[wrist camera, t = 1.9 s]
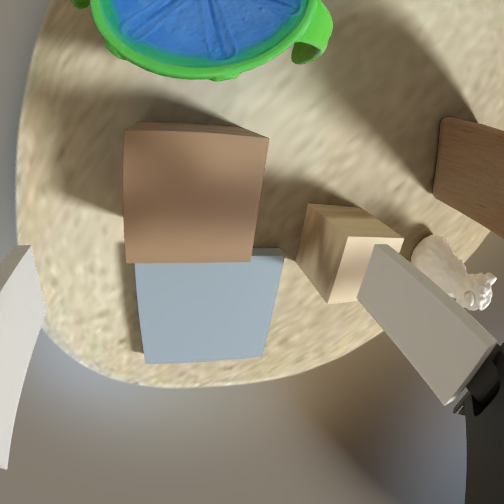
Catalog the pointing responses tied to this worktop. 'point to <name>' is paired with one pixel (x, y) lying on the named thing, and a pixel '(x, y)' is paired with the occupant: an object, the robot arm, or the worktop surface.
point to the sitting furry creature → (452, 273)
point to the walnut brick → (191, 192)
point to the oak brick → (340, 248)
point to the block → (471, 171)
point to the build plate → (207, 308)
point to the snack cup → (210, 33)
